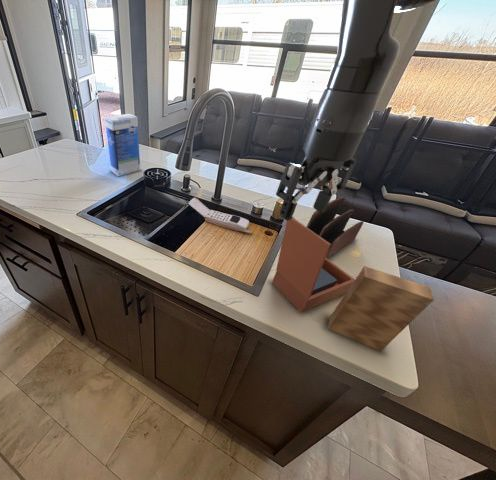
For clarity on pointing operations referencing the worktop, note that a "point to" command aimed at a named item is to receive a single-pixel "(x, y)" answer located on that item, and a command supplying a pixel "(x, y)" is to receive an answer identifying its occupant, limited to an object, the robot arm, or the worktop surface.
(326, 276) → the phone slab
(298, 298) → the case
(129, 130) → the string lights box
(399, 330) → the wooden block
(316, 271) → the cover
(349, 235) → the letter holder
